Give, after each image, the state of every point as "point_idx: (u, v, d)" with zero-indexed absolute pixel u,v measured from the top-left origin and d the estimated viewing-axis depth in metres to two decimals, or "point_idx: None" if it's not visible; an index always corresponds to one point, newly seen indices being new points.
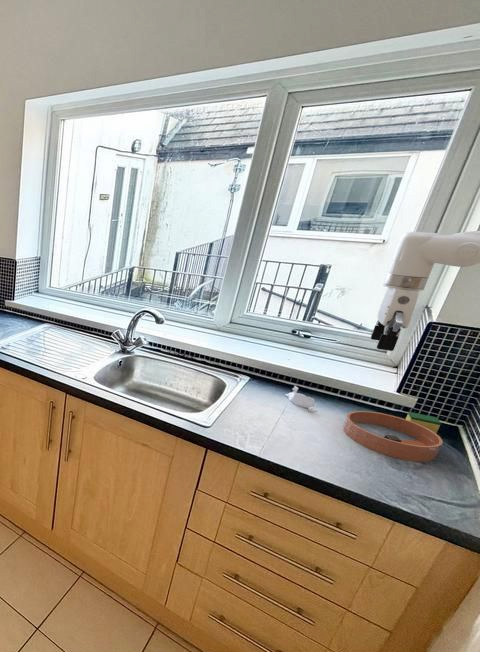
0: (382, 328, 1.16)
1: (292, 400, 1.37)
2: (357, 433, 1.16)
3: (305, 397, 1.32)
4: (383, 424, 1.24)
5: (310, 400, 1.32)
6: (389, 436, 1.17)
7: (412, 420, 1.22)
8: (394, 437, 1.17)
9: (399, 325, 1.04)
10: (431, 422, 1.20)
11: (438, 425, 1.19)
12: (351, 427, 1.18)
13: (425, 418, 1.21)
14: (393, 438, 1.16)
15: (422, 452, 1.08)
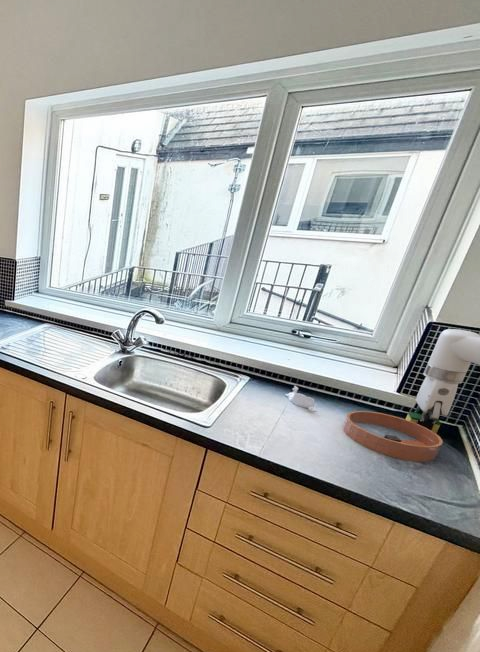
0: None
1: (292, 400, 1.37)
2: (357, 433, 1.16)
3: (305, 397, 1.32)
4: (383, 424, 1.24)
5: (310, 400, 1.32)
6: (389, 436, 1.17)
7: (412, 420, 1.22)
8: (394, 437, 1.17)
9: (435, 419, 1.16)
10: None
11: (438, 425, 1.19)
12: (351, 427, 1.18)
13: None
14: (393, 438, 1.16)
15: (422, 452, 1.08)
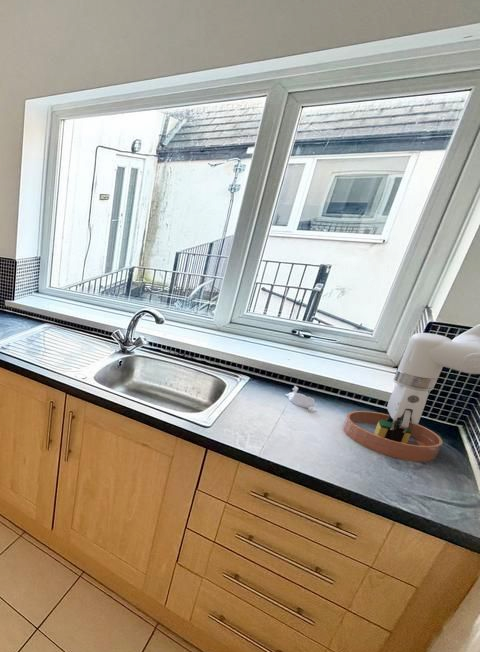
0: None
1: (292, 400, 1.37)
2: (357, 433, 1.16)
3: (305, 397, 1.32)
4: None
5: (310, 400, 1.32)
6: (408, 441, 1.15)
7: (382, 429, 1.16)
8: (414, 442, 1.14)
9: (404, 428, 1.10)
10: None
11: (409, 434, 1.13)
12: (351, 427, 1.18)
13: None
14: (411, 443, 1.14)
15: (422, 452, 1.08)
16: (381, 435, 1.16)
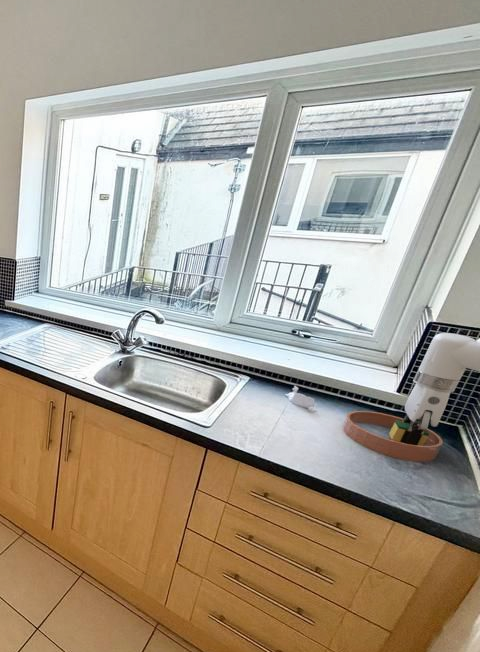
0: None
1: (292, 400, 1.37)
2: (357, 433, 1.16)
3: (305, 397, 1.32)
4: (383, 424, 1.24)
5: (310, 400, 1.32)
6: (424, 443, 1.13)
7: (399, 429, 1.14)
8: (429, 445, 1.12)
9: (423, 430, 1.08)
10: None
11: (426, 436, 1.11)
12: (351, 427, 1.18)
13: None
14: (427, 445, 1.12)
15: (422, 452, 1.08)
16: (397, 436, 1.14)
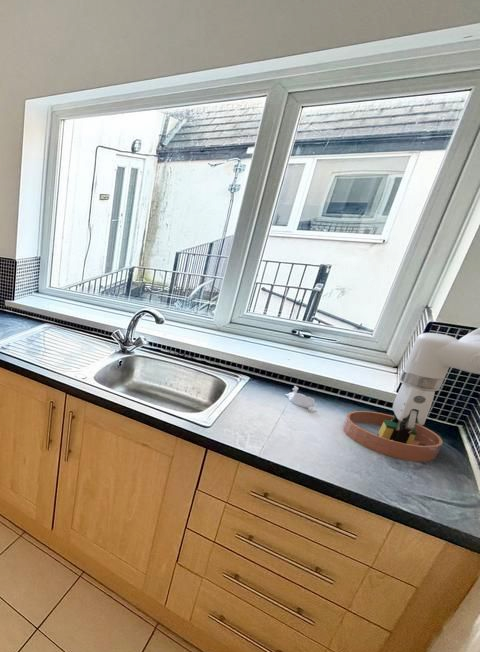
0: None
1: (292, 400, 1.37)
2: (357, 433, 1.16)
3: (305, 397, 1.32)
4: None
5: (310, 400, 1.32)
6: (423, 444, 1.13)
7: (387, 429, 1.15)
8: None
9: (410, 429, 1.09)
10: None
11: (414, 435, 1.12)
12: (351, 427, 1.18)
13: None
14: None
15: (422, 452, 1.08)
16: (386, 435, 1.16)
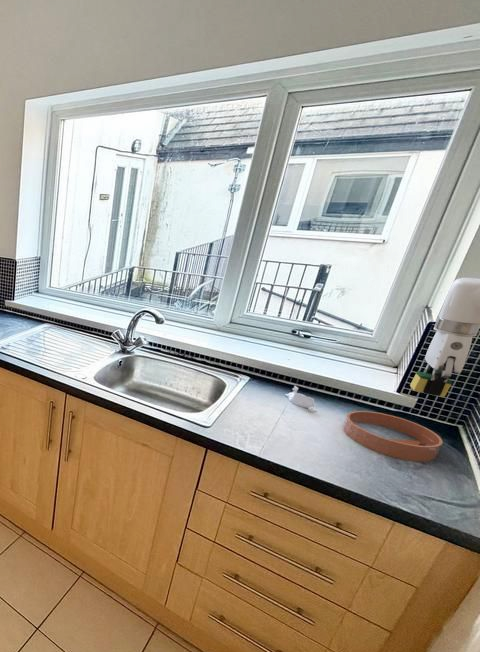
0: None
1: (292, 400, 1.37)
2: (357, 433, 1.16)
3: (305, 397, 1.32)
4: (383, 424, 1.24)
5: (310, 400, 1.32)
6: (423, 444, 1.13)
7: (421, 379, 1.13)
8: None
9: (447, 376, 1.07)
10: None
11: (449, 384, 1.10)
12: (351, 427, 1.18)
13: None
14: None
15: (422, 452, 1.08)
16: (419, 386, 1.13)
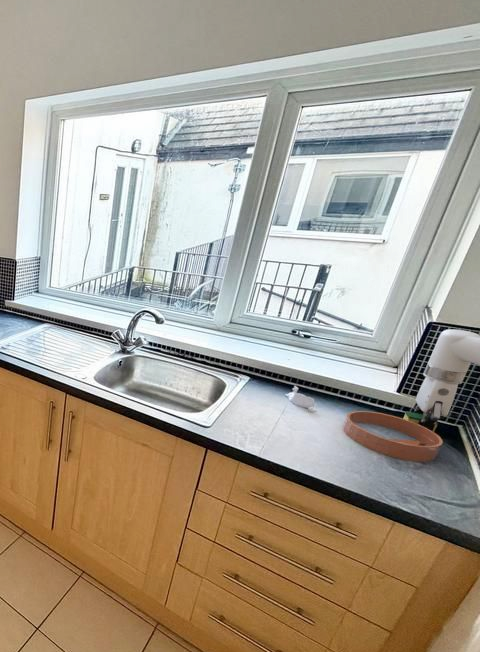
0: None
1: (292, 400, 1.37)
2: (357, 433, 1.16)
3: (305, 397, 1.32)
4: (383, 424, 1.24)
5: (310, 400, 1.32)
6: (423, 444, 1.13)
7: (409, 419, 1.22)
8: None
9: (436, 419, 1.15)
10: None
11: None
12: (351, 427, 1.18)
13: None
14: None
15: (422, 452, 1.08)
16: None
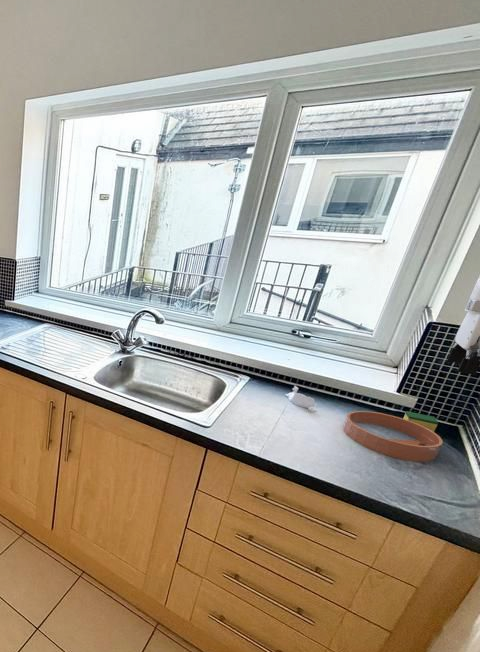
0: (460, 351, 1.19)
1: (292, 400, 1.37)
2: (357, 433, 1.16)
3: (305, 397, 1.32)
4: (383, 424, 1.24)
5: (310, 400, 1.32)
6: (423, 444, 1.13)
7: (409, 419, 1.22)
8: None
9: None
10: (428, 421, 1.20)
11: (435, 424, 1.20)
12: (351, 427, 1.18)
13: (422, 417, 1.22)
14: None
15: (422, 452, 1.08)
16: None
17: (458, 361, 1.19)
